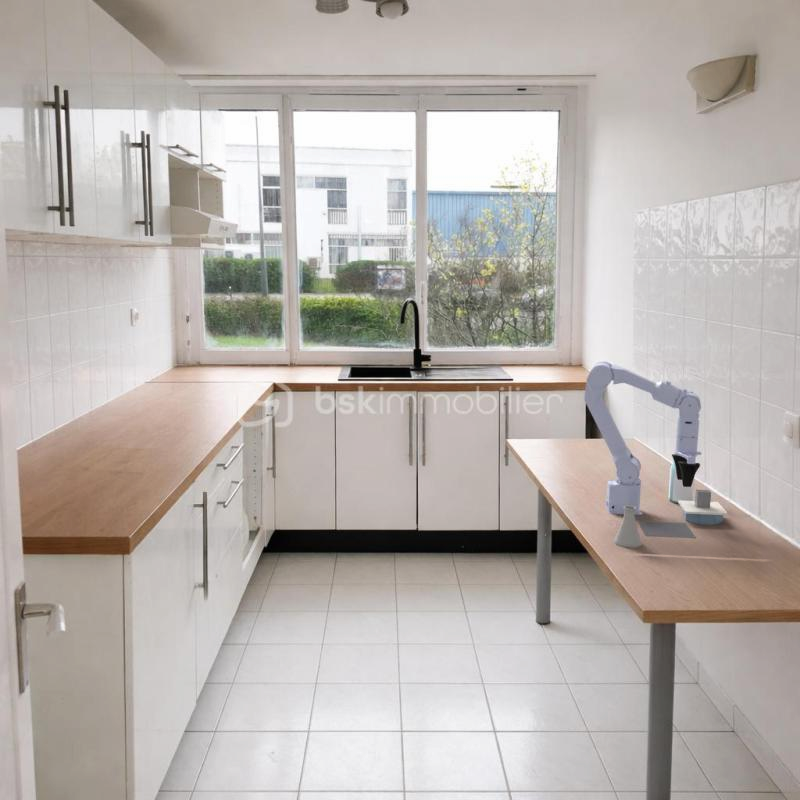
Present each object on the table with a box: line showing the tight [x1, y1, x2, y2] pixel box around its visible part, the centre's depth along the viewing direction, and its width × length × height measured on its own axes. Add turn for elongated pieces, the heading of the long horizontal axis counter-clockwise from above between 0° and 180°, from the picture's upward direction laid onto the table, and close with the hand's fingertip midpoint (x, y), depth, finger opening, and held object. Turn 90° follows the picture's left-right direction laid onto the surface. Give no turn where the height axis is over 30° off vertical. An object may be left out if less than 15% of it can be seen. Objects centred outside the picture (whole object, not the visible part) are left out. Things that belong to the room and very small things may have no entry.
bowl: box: [682, 509, 724, 526], centre depth 250 cm, size 10×10×4 cm
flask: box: [613, 506, 643, 548], centre depth 228 cm, size 7×7×10 cm
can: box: [668, 460, 695, 504], centre depth 269 cm, size 7×7×12 cm
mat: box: [637, 520, 697, 539], centre depth 240 cm, size 13×13×1 cm
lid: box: [677, 489, 729, 516], centre depth 249 cm, size 11×11×5 cm
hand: (684, 483), depth 252 cm, fingers open, 7 cm apart
